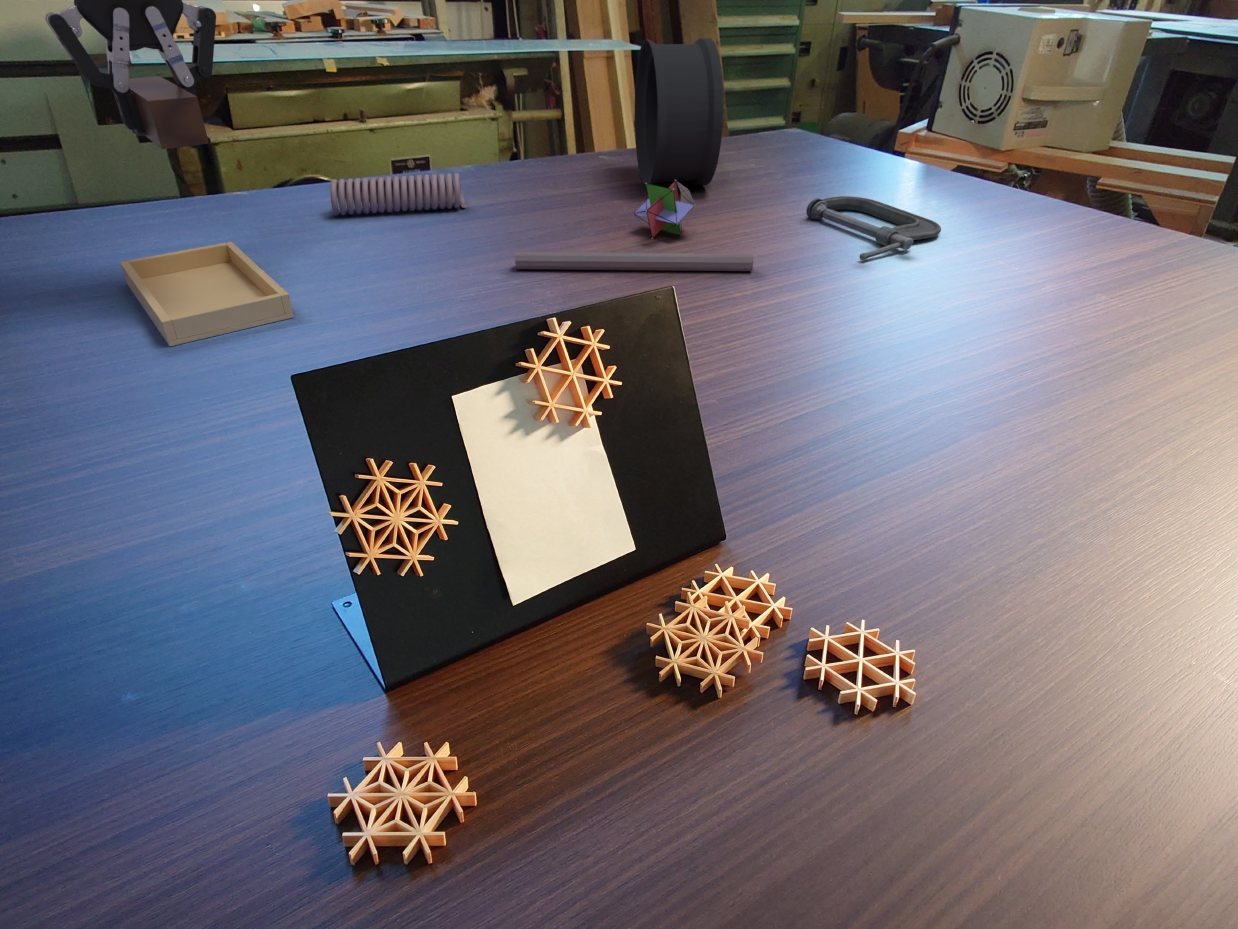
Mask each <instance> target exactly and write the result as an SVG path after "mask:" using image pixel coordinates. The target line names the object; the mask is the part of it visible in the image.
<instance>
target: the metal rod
mask: <svg viewBox="0 0 1238 929" xmlns="http://www.w3.org/2000/svg"><path fill="white" fill-rule="evenodd" d="M514 262H515V269H516V270H571V271H572V270H573V271H575V270H580V271H583V270H584V271H585V270H586V271H587V270H589V271H592V270H593V271H599V270H600V271H691V272H693V271H695V272H696V271H700V272H702V271H703V272H704V271H705V272H706V271H707V272H710V271H711V272H713V271H714V272H752V271H753V269H754V254H753V253H707V252H706V253H697V252H695V253H694V252H691V253H690V252H689V253H688V252H687V253H686V252H684V253H683V252H593V251H592V252H589V251H588V252H587V251H584V252H583V251H581V252H576V251H575V252H574V251H515V255H514Z"/></svg>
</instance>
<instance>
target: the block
mask: <svg viewBox="0 0 1238 929" xmlns="http://www.w3.org/2000/svg"><path fill="white" fill-rule="evenodd" d="M129 88H130V91H131V92H133V93H134V96H135V99H136V103H137V106H138V109H139V113H140V116H141V119H142V123H143V126H144V129H145V133H146V135H144V137H146V138H147V139H148V140H149V141H151V142H152V143H153V144H154V145H156V146H157V147H159V148H160V150H168V149H175V148H177V149H178V148H185V147H192V146H200V145H201V146H202V145H207V144H210V142H209V139H208V135H207V130H206V125H205V122H204V118H203V114H201V113H202V110H201V106H200V102H199V98H198V95H197V96H195V95H193V94H191V93H190V92H188V91H186V90H184V89H182V88H180V87H179V86H177V84H175V83H173V82H171V81H169V80H168V79H167V78H166V79H165V78H164V77H162V76H160V75H157V76H146V77H145V76H144V77H142V76H141V77H129ZM197 98H198V99H197ZM198 102H199V103H198Z"/></svg>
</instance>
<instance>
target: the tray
mask: <svg viewBox="0 0 1238 929" xmlns="http://www.w3.org/2000/svg"><path fill="white" fill-rule="evenodd" d="M119 264H120V267H121V271H122V273H123V277H124V280H125V282H126V285H127V286H128V288H129V289H130V291H131V292H132V293H133V295H134V296H135V298H136V299H137V301H138V302H139V304H140V305H141V307H142V308H143V309H144V311H145V313H146V314H147V315H148V317H149V318H150V320H151V322H152V323H153V324H154V326H155V327H156V329H157V330H158V332H159V333H160V334H161V336H162V338H163V339H164V341H165V342H166V344H167V345H168V346H169V347H174V346H179V345H182V344H183V345H184V344H187V343H191V342H195V341H200V340H204V339H208V338H213V337H217V336H221V335H225V334H230V333H233V332H238V331H243V330H246V329H251V328H254V327H258V326H259V327H260V326H263V325H268V324H271V323H276V322H280V321H285V320H289V319H292V318H293V319H294V318H295V315H294V311H293V306H292V301H291V298H290V294H289V293H288V292H287V291H286V290H285V289H284V288H283V287H282V286H281V285H279V283H277V282H276V281H275V280H274V279H273V278H272V277H271V276H270V275H268V273H266V271H264V270H263V269H262V268H261V267H260V266H259V265H258V264H257V263H255V261H254V260H252V259H251V258H250V257H249V256H248V255H247V254H246V253H245V252H244V251H242V250H241V249H240V248H239V247H238V246H237V245H236V244H235V243H234V242H233V241H227V242H221V243H215V244H210V245H205V246H199V247H194V248H189V249H183V250H182V249H181V250H177V251H172V252H166V253H161V254H156V255H150V256H144V257H139V258H133V259H128V260H122V261H119Z"/></svg>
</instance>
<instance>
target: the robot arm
mask: <svg viewBox="0 0 1238 929" xmlns="http://www.w3.org/2000/svg"><path fill="white" fill-rule="evenodd" d="M73 4H74V5H72V6H69V7H67V8H65V9H62V10H60V11H57V12H51V11H50V12H47V13H46V14H45V16H44V17H45V21H46V24H47V25H48V27H49V29H50V30H51V31H52V32H53V34H54V35H55V37H56V38H57V40H58V41H59V42H60V44H61V46H62V47H63V49H64V50H65V52H66V53H67V54H68V55H69V57H70V59H71V60H72V61H73V63H74V64H75V66H76V67H77V70H78V71H80V73H81V74H82V76H83V77H84V79H85V80H86V81H87V82H88V83H90V84H91V85H92V86H94V87H96V88H105V89H108V90H110V91H111V92H112V93H113V95H114V99H115V102H116V105H117V109H118V111H119V114H120V118H121V121H122V123H123V124H124V126H125V127H126V128H127V129H129V131H130V130H131V131H132V130H133V133H134V134H135V135H136V136H137V137H140V136H141V137H142V136H145V135H146V133H145V129H144V126H143V123H142V119H141V116H140V113H139V109H138V106H137V103H136V99H135V96H134V93H133V92H131V91H130V88H129V79H130V64H131V63H130V62H131V61H130V60H131V57H130V56H131V55H130V52H135V51H139V50H142V49H144V48H145V49H150V50H157V51H158V53H159V55H160V57H161V58H162V59H163V61H164V62H165V64H166V66H167V68H168V70H169V72H170V74H171V75H172V78H173V79H174V81H175V82H176V85H177V86H179V87H180V88H182V89H184V90H186V91H188V92H190V93H191V94H193V95H195V96H197V99H198V100H199V98H198V94H197V90H196V85H197V84H198V82H199V81H202V80H204V79H207V78H210V77H212V75H213V68H214V67H213V66H214V54H215V39H216V26H217V25H216V24H217V13H216V12H215V10H214V9H213V8H210V7H207V6H203V5H199V6H197V5H193V4H190V3H187V2H184V1H183V0H73ZM182 15H184V17H185V19H186V24H187V26H188V27H189V29H191V30H193V38H192V39H193V40H192V41H193V42H192V53H191V54H192V55H191V57H192V58H191V64H189V65H187V63H186V61H185V59H184V56H183V54H182V52H181V49H180V48H179V46H178V44H177V41H176V40H175V38H174V34H175V32H176V30H177V27H178V25H179V22H180V19H181V18H182ZM82 19H83V20H84V21H86V22H87V23H88V24H89V25H90V26H91V27H92V28H93V29H94V30H96V32H97V33H98V34H100V36H102V37H103V38H104V39H105V48H106V50H105V51H106V59H107V72H105V71H101V70H99V68H98V66H97V65H96V63H95V62H94V60H93V59H92V57H91V56H90V55H89V53H88V51H87V50H86V49H85V47H84V46H83V44H82V42H81V41H80V40H79V38H80V37H81V36H82V35H83V29H82V27H81V23H80V22H81V20H82ZM198 103H199V104H200V102H199V101H198ZM201 114H202V112H201ZM202 115H203V114H202Z"/></svg>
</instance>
